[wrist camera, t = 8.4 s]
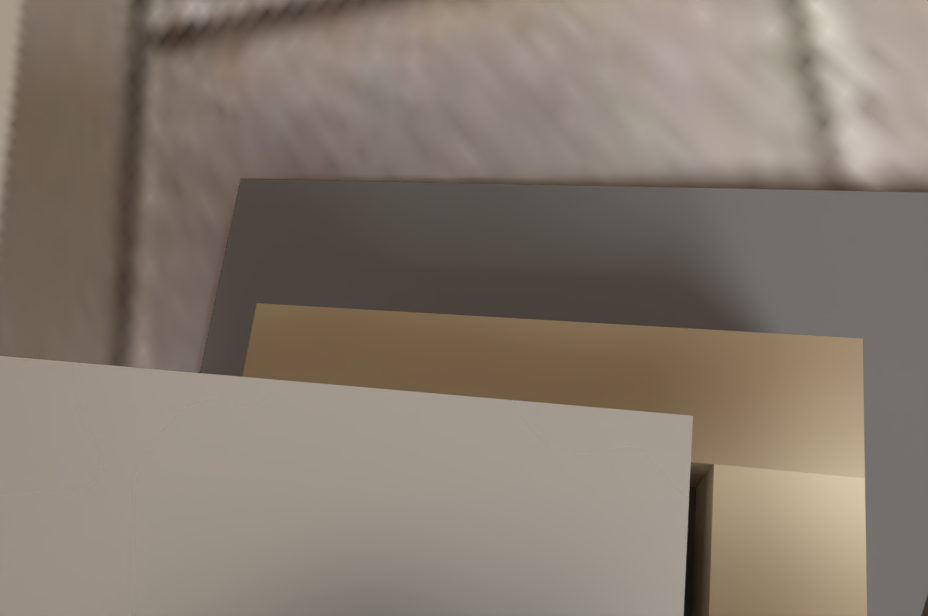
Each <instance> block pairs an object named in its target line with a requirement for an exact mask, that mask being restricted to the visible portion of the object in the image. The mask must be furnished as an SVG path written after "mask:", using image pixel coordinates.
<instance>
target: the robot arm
mask: <svg viewBox="0 0 928 616" xmlns="http://www.w3.org/2000/svg"><path fill="white" fill-rule="evenodd" d="M921 616H928V593H927V597H926V601H925V604H924V608H923V611H922V615H921Z"/></svg>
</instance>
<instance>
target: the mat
mask: <svg viewBox="0 0 928 616" xmlns="http://www.w3.org/2000/svg"><path fill="white" fill-rule="evenodd" d="M257 303H261V304H279V305H296V306H313V307H330V308H347V309H364V310H381V311H399V312H416V313H433V314H450V315H467V316H484V317H502V318H519V319H536V320H553V321H570V322H587V323H605V324H622V325H639V326H656V327H673V328H690V329H707V330H725V331H742V332H759V333H776V334H793V335H810V336H828V337H845V338H862V339H863V386H864V450H865V513H866V577H867V616H921V615H922V611H923V608H924V604H925V601H926V597H927V593H928V192H880V191H831V190H782V189H732V188H683V187H634V186H585V185H535V184H486V183H437V182H387V181H338V180H289V179H241V180H240V185H239V190H238V194H237V199H236V204H235V209H234V214H233V218H232V223H231V228H230V233H229V237H228V242H227V247H226V252H225V257H224V261H223V266H222V271H221V276H220V280H219V285H218V290H217V295H216V300H215V304H214V309H213V314H212V319H211V323H210V328H209V333H208V338H207V343H206V347H205V352H204V357H203V362H202V366H201V371H200V373H204V374H216V375H228V376H239V377H242V376H243V371H244V366H245V361H246V356H247V351H248V346H249V340H250V335H251V330H252V325H253V320H254V315H255V310H256V304H257ZM695 511H696V487H690V489H689V510H688V532H687V553H686V575H685V596H684V616H691V612H692V587H693V561H694V536H695Z"/></svg>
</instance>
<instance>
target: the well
mask: <svg viewBox="0 0 928 616" xmlns="http://www.w3.org/2000/svg"><path fill="white" fill-rule="evenodd" d="M242 377H251V378H262V379H274V380H285V381H297V382H308V383H320V384H332V385H343V386H355V387H366V388H378V389H389V390H401V391H412V392H424V393H436V394H447V395H459V396H470V397H482V398H493V399H505V400H516V401H528V402H540V403H551V404H563V405H574V406H586V407H597V408H609V409H620V410H632V411H644V412H655V413H667V414H678V415H690V416H693V425H692V446H691V467H690V487H696V511H695V536H694V561H693V587H692V612H691V616H867V577H866V513H865V450H864V386H863V339H862V338H845V337H828V336H810V335H793V334H776V333H759V332H742V331H725V330H707V329H690V328H673V327H656V326H639V325H622V324H605V323H587V322H570V321H553V320H536V319H519V318H502V317H484V316H467V315H450V314H433V313H416V312H399V311H381V310H364V309H347V308H330V307H313V306H296V305H279V304H261V303H257V304H256V310H255V315H254V320H253V325H252V330H251V335H250V340H249V346H248V351H247V356H246V361H245V366H244V371H243V376H242Z"/></svg>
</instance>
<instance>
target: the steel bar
mask: <svg viewBox="0 0 928 616" xmlns="http://www.w3.org/2000/svg"><path fill="white" fill-rule="evenodd" d="M692 425H693V416H690V415H678V414H667V413H655V412H644V411H632V410H620V409H609V408H597V407H586V406H574V405H563V404H551V403H540V402H528V401H516V400H505V399H493V398H482V397H470V396H459V395H447V394H436V393H424V392H412V391H401V390H389V389H378V388H366V387H355V386H343V385H332V384H320V383H308V382H297V381H285V380H274V379H262V378H251V377H239V376H228V375H216V374H204V373H193V372H181V371H170V370H158V369H147V368H135V367H124V366H112V365H100V364H89V363H77V362H66V361H54V360H43V359H31V358H20V357H8V356H0V616H684V596H685V575H686V553H687V532H688V510H689V489H690V467H691V446H692Z"/></svg>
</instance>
